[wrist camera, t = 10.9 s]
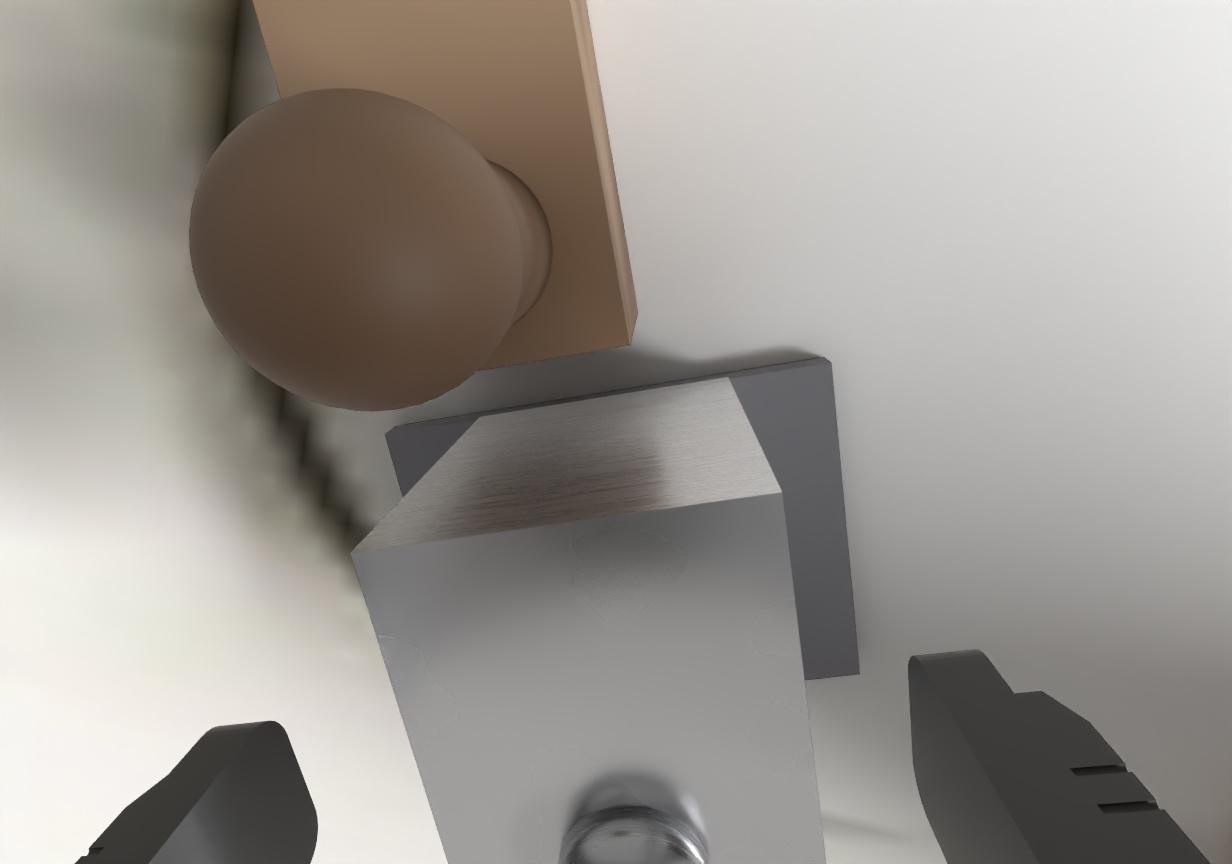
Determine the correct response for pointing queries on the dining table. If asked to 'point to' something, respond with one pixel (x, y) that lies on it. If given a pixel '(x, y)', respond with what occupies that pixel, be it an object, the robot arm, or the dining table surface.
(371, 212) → the body
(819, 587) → the rubber mat
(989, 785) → the robot arm
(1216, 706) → the dining table surface
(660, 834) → the lever cap
